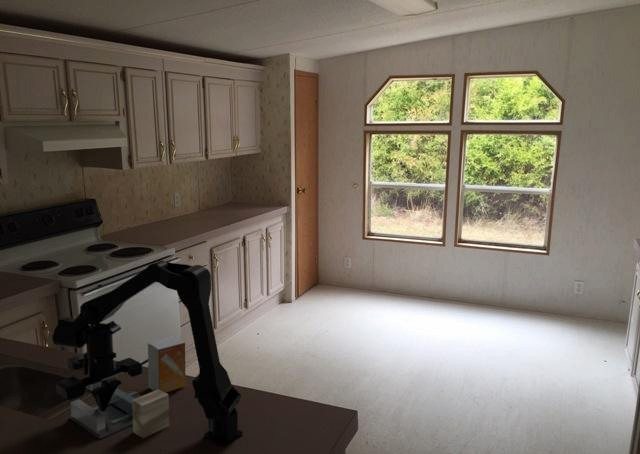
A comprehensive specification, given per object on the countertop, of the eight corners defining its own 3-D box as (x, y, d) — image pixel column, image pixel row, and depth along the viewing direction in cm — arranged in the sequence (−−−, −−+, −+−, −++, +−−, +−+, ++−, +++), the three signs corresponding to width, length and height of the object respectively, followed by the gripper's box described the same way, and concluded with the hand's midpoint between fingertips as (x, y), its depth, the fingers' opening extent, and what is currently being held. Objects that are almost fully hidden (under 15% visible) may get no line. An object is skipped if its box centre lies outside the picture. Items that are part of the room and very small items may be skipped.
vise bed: (162, 411, 127) (162, 394, 127) (99, 439, 114) (98, 420, 114) (131, 393, 136) (130, 377, 135) (69, 418, 123) (68, 400, 122)
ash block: (169, 426, 121) (168, 394, 119) (143, 438, 115) (142, 405, 114) (159, 420, 123) (158, 389, 122) (133, 432, 118) (132, 400, 116)
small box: (159, 396, 135) (157, 349, 133) (148, 387, 139) (147, 342, 137) (186, 386, 140) (185, 342, 139) (175, 379, 145) (174, 335, 143)
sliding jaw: (140, 413, 123) (140, 401, 123) (133, 416, 122) (132, 404, 121) (114, 397, 131) (113, 386, 130) (106, 400, 129) (106, 389, 129)
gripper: (118, 330, 132) (120, 387, 134) (43, 352, 117) (47, 414, 119) (142, 341, 125) (144, 400, 127) (66, 365, 110) (70, 431, 113)
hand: (102, 410), depth 122 cm, fingers closed
